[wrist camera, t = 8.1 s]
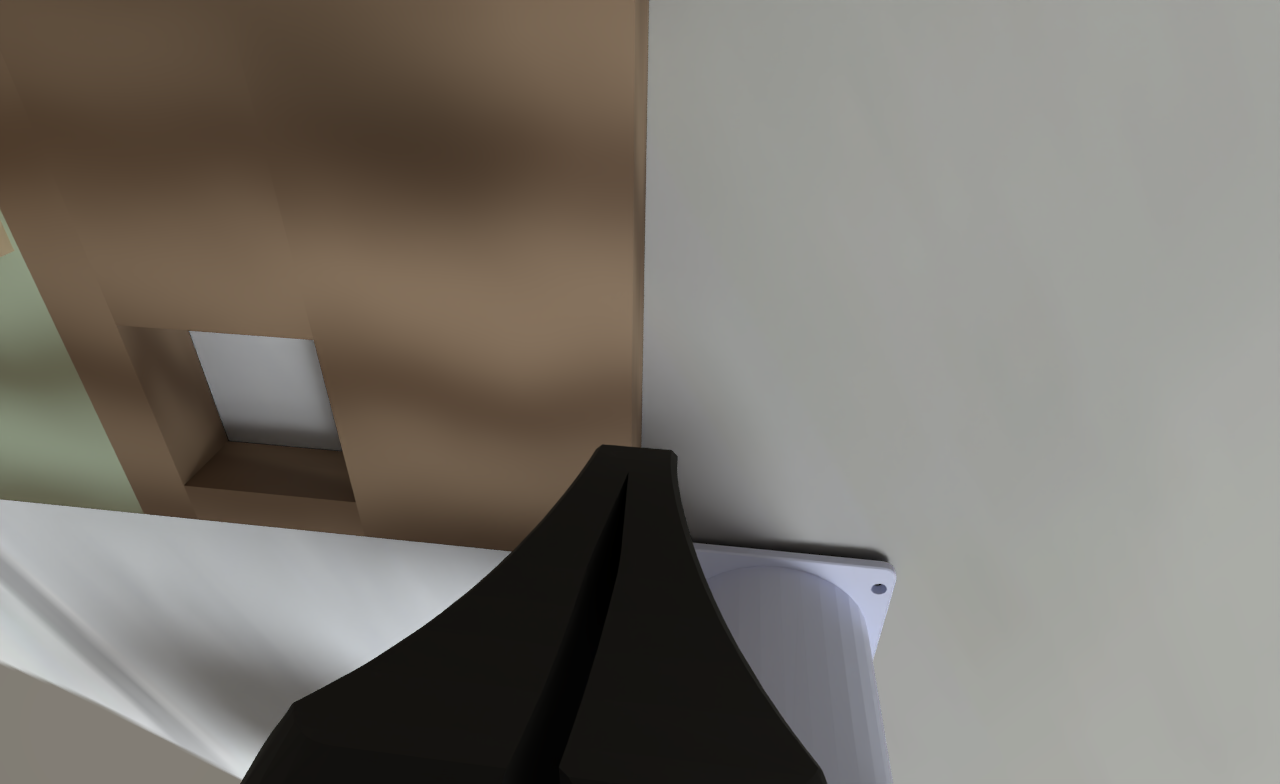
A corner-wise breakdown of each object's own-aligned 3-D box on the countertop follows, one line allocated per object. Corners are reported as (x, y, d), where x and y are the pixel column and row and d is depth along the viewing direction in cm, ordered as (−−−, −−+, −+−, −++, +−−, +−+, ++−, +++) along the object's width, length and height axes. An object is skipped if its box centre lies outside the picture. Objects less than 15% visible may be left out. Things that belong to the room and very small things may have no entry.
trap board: (640, 511, 26) (630, 563, 24) (20, 452, 28) (-39, 495, 26) (657, -525, 13) (640, -612, 11) (-499, -473, 15) (-700, -537, 13)
